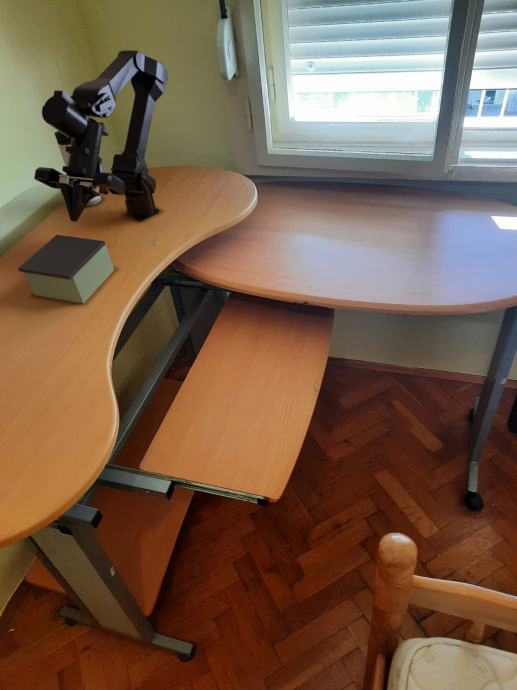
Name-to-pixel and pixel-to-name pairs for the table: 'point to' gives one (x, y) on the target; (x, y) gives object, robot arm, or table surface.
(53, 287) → the sage green storage tray
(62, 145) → the travel mug
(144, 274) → the table surface
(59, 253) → the dark flat rectangular panel
